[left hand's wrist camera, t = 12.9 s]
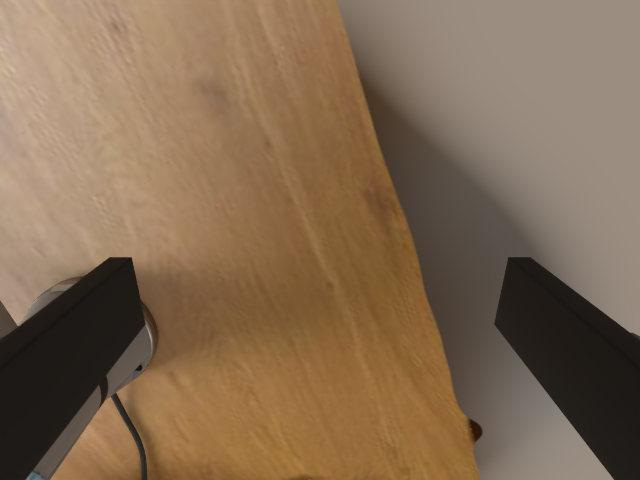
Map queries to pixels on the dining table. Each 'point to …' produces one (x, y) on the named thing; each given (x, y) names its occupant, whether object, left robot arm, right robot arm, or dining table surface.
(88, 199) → the dining table surface
